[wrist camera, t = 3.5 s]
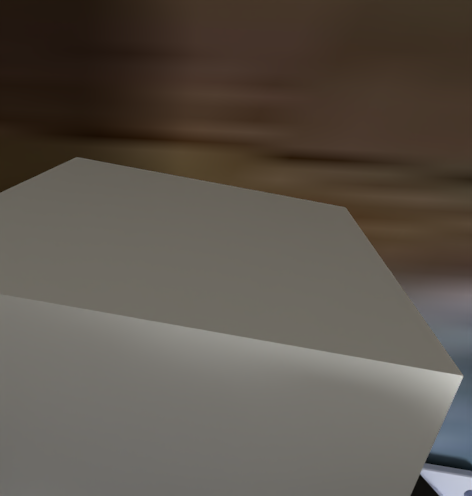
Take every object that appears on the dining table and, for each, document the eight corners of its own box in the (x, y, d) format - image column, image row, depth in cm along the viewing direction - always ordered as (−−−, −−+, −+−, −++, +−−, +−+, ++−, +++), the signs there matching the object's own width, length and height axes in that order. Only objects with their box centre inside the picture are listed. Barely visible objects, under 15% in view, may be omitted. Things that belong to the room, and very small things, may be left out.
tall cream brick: (266, 488, 13) (276, 796, 7) (61, 453, 13) (-87, 745, 7) (345, 207, 10) (464, 376, 4) (76, 157, 10) (-158, 266, 4)
